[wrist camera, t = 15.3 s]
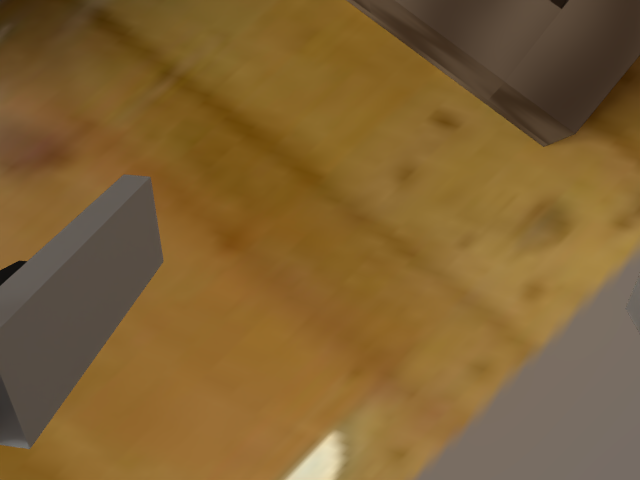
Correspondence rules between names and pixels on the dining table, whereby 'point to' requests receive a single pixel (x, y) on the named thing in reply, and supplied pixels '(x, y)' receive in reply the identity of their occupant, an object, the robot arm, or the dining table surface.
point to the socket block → (522, 52)
